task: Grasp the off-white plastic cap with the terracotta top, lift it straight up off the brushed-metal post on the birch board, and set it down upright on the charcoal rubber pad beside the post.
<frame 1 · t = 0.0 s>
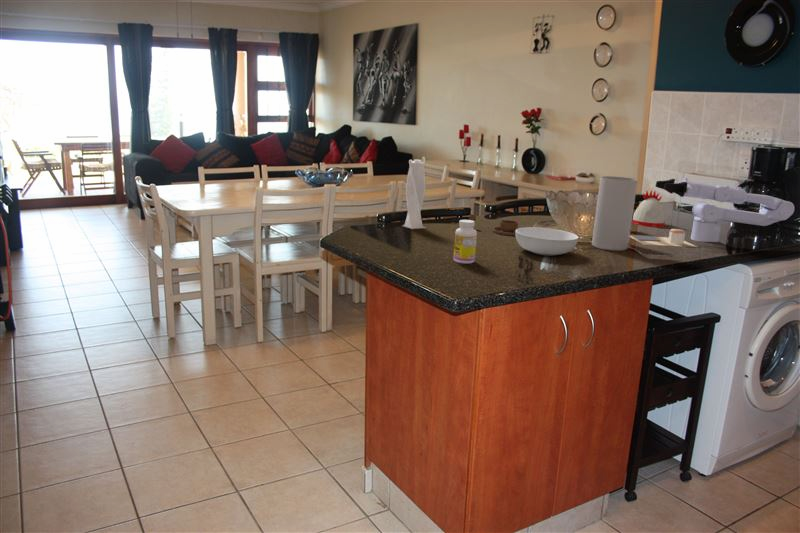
hand: (660, 185, 241), 22 cm above the countertop, tool horizontal, fingers open, 7 cm apart
place setting: (499, 232, 251), on the countertop
skyscraper: (413, 228, 249), on the countertop
cylinder vase: (609, 248, 231), on the countertop
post: (675, 247, 238), resting on board
cap: (675, 243, 238), point 1 cm above the countertop, touching board
supplement bottle: (621, 234, 259), on the countertop
board: (661, 244, 241), on the countertop
pad: (644, 242, 244), resting on board
supplement bottle 2: (463, 262, 199), on the countertop
serving bowl: (544, 253, 218), on the countertop
kitchen timer: (648, 224, 286), on the countertop
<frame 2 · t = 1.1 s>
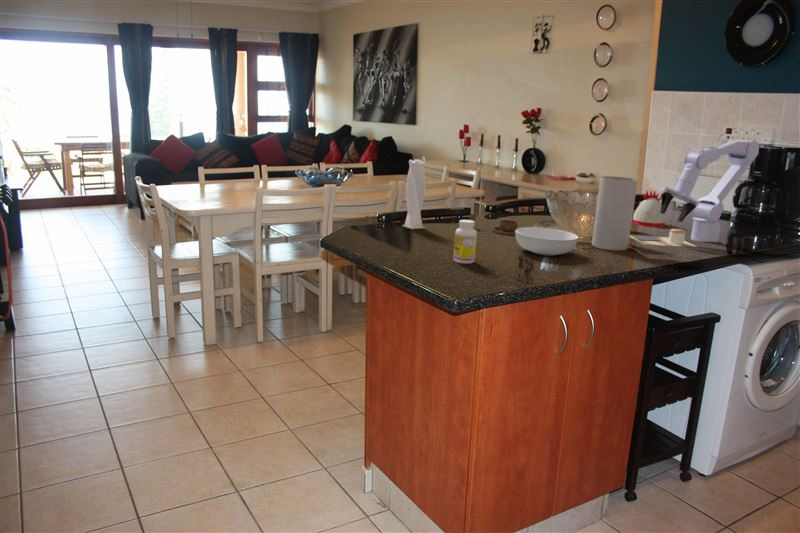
hand: (671, 217, 237), 11 cm above the countertop, tool tilted 20°, fingers open, 7 cm apart
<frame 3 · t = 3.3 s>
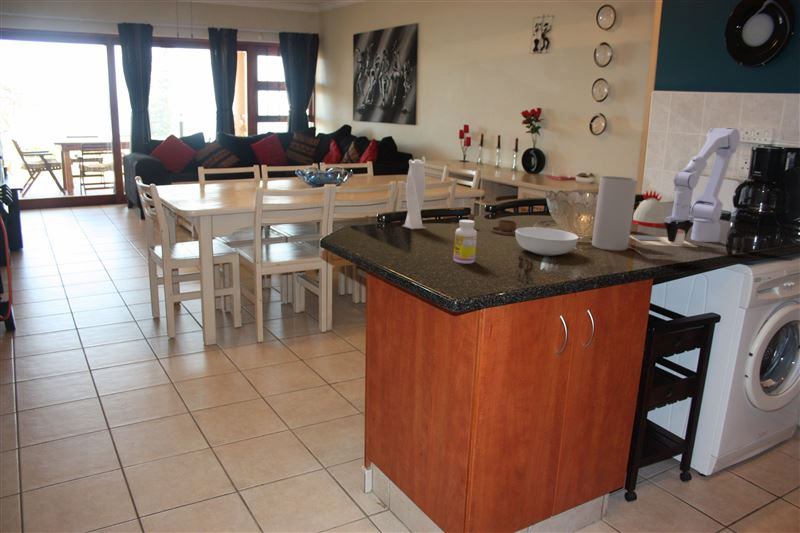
hand: (676, 240, 238), 2 cm above the countertop, tool pointing down, fingers closed on cap, 5 cm apart
cap: (675, 243, 238), point 2 cm above the countertop, touching board, gripper
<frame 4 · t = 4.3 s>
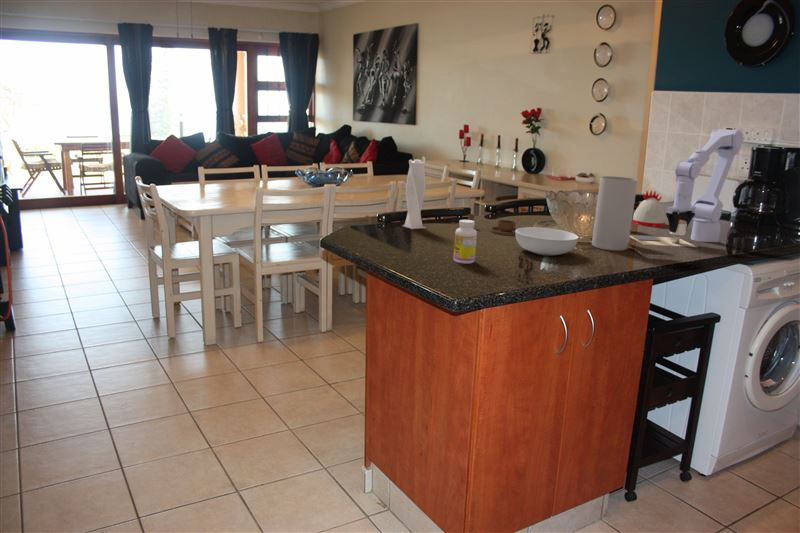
hand: (677, 231, 237), 6 cm above the countertop, tool pointing down, fingers closed on cap, 5 cm apart
cap: (677, 233, 237), point 5 cm above the countertop, touching gripper
everything else where it was.
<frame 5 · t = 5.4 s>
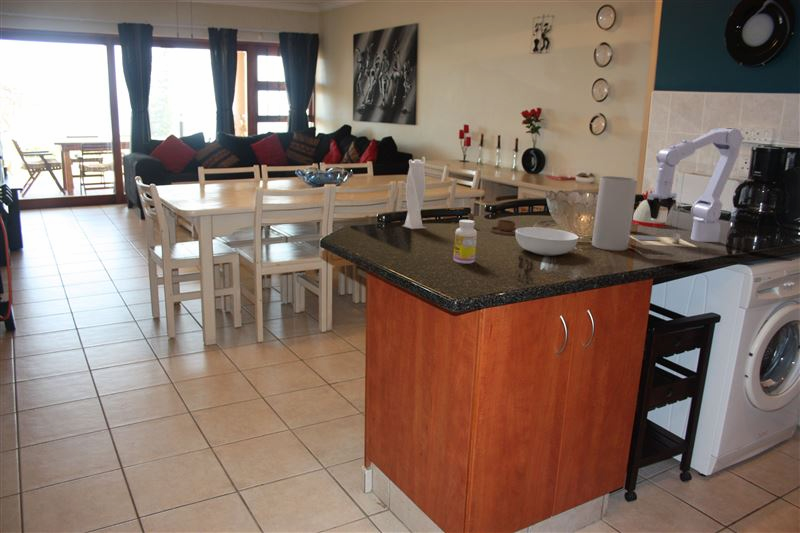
hand: (658, 218, 239), 10 cm above the countertop, tool pointing down, fingers closed on cap, 5 cm apart
cap: (658, 220, 239), point 9 cm above the countertop, touching gripper
when the fingers open (4 cm above the countertop, at t = 7.6 s): cap drops 2 cm, resting on pad.
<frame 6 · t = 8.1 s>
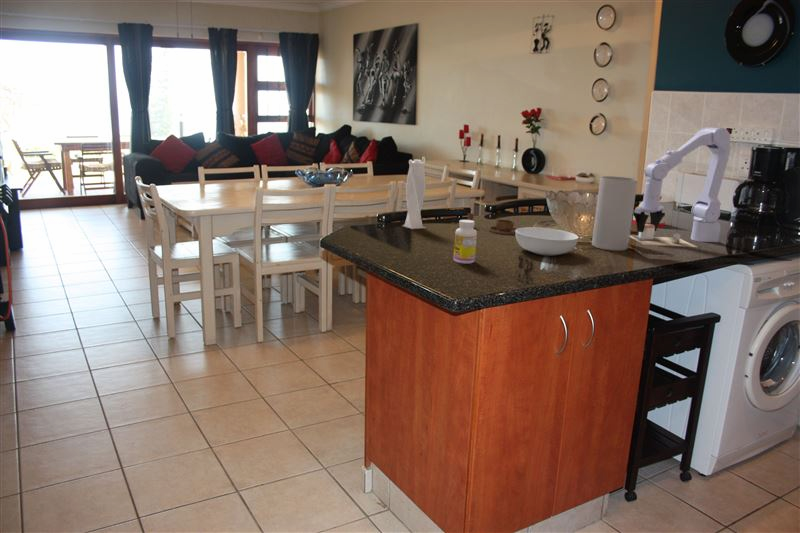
hand: (646, 231, 243), 4 cm above the countertop, tool pointing down, fingers open, 7 cm apart
cap: (645, 237, 243), point 2 cm above the countertop, touching pad
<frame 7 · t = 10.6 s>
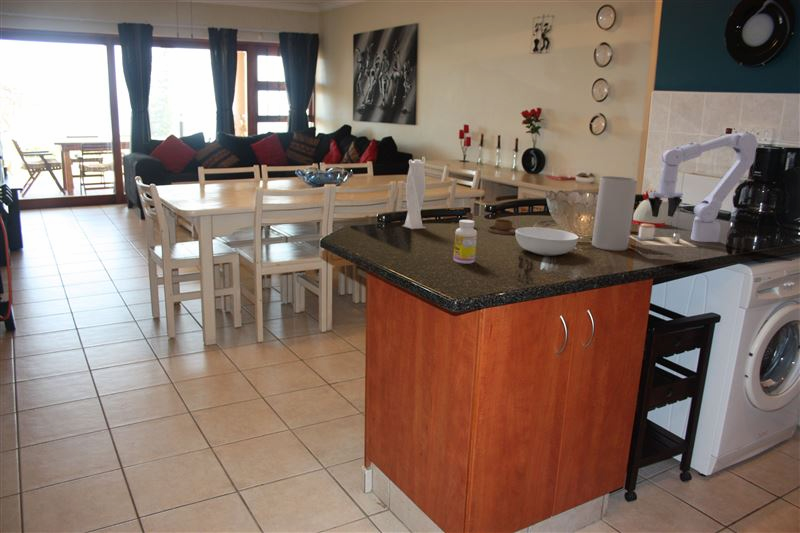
hand: (662, 216, 247), 9 cm above the countertop, tool pointing down, fingers open, 7 cm apart
at the end: cap 0.1 cm off-centre on the pad, point 1.9 cm above the pad's base; cap tilted 0°; the gripper is holding nothing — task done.
